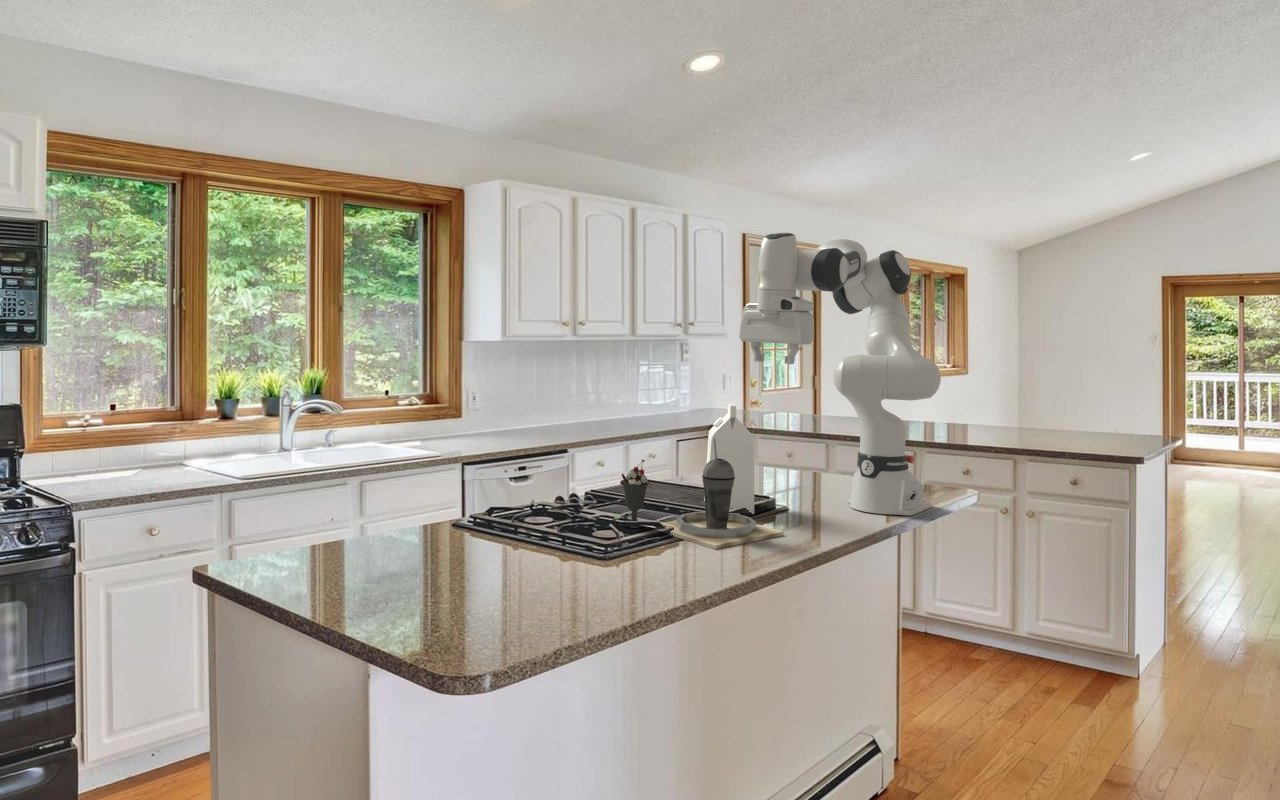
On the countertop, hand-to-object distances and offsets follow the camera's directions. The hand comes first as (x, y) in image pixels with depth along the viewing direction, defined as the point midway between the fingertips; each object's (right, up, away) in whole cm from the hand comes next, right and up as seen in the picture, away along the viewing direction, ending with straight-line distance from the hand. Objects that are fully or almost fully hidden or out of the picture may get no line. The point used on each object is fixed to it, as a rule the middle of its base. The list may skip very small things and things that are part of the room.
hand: (773, 362), depth 201 cm
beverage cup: (-14, -37, -10) cm, 41 cm away
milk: (-9, -36, +15) cm, 40 cm away
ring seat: (-14, -38, -10) cm, 42 cm away
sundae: (-33, -37, -7) cm, 50 cm away
